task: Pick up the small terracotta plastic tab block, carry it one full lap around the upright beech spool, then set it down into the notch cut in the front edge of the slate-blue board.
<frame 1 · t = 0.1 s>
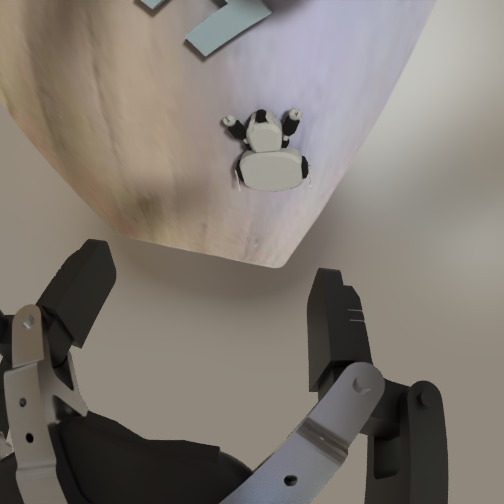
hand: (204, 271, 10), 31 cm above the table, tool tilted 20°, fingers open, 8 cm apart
robot toy: (270, 142, 42), on the table
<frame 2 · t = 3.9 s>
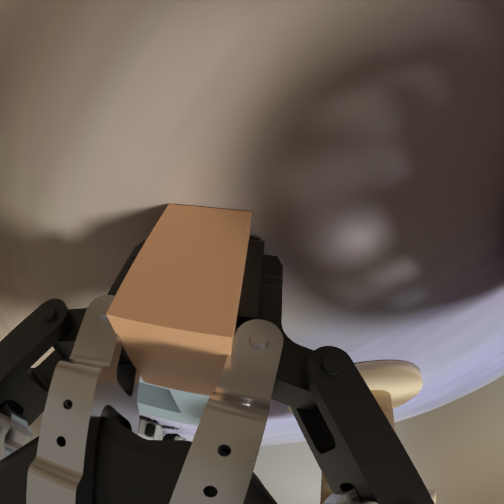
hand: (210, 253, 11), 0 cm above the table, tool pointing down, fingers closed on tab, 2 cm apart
robot toy: (145, 421, 36), on the table
tab: (209, 251, 11), on the table, touching gripper
spool: (355, 392, 19), on the table
notched board: (158, 376, 20), on the table
when the fingers open (2 cm above the table, at t = 13.1 s): tab stays where it is, resting on notched board.
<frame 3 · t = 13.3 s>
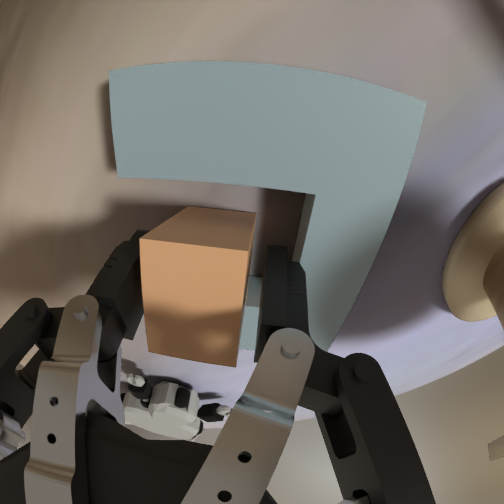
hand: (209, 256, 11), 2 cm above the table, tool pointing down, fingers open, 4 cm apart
robot toy: (169, 392, 29), on the table
tab: (218, 253, 12), point 1 cm above the table, tilted 20°, touching notched board
notched board: (253, 227, 12), on the table
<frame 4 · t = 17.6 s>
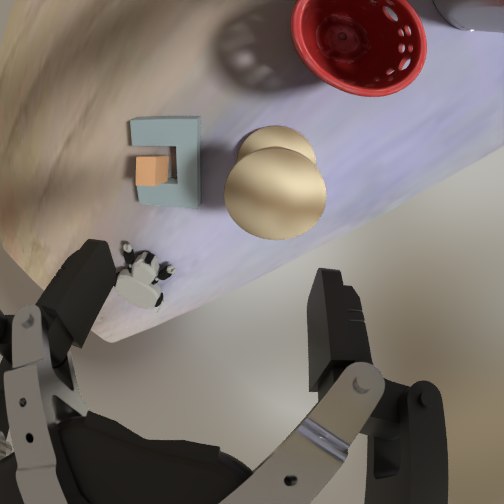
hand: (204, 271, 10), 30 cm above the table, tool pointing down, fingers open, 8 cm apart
robot toy: (145, 270, 55), on the table
tab: (159, 168, 39), point 1 cm above the table, tilted 18°, touching notched board
spool: (276, 162, 37), on the table
plant pot: (338, 40, 25), on the table
notched board: (168, 160, 38), on the table
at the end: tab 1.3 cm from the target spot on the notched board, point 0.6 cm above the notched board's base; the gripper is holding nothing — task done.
